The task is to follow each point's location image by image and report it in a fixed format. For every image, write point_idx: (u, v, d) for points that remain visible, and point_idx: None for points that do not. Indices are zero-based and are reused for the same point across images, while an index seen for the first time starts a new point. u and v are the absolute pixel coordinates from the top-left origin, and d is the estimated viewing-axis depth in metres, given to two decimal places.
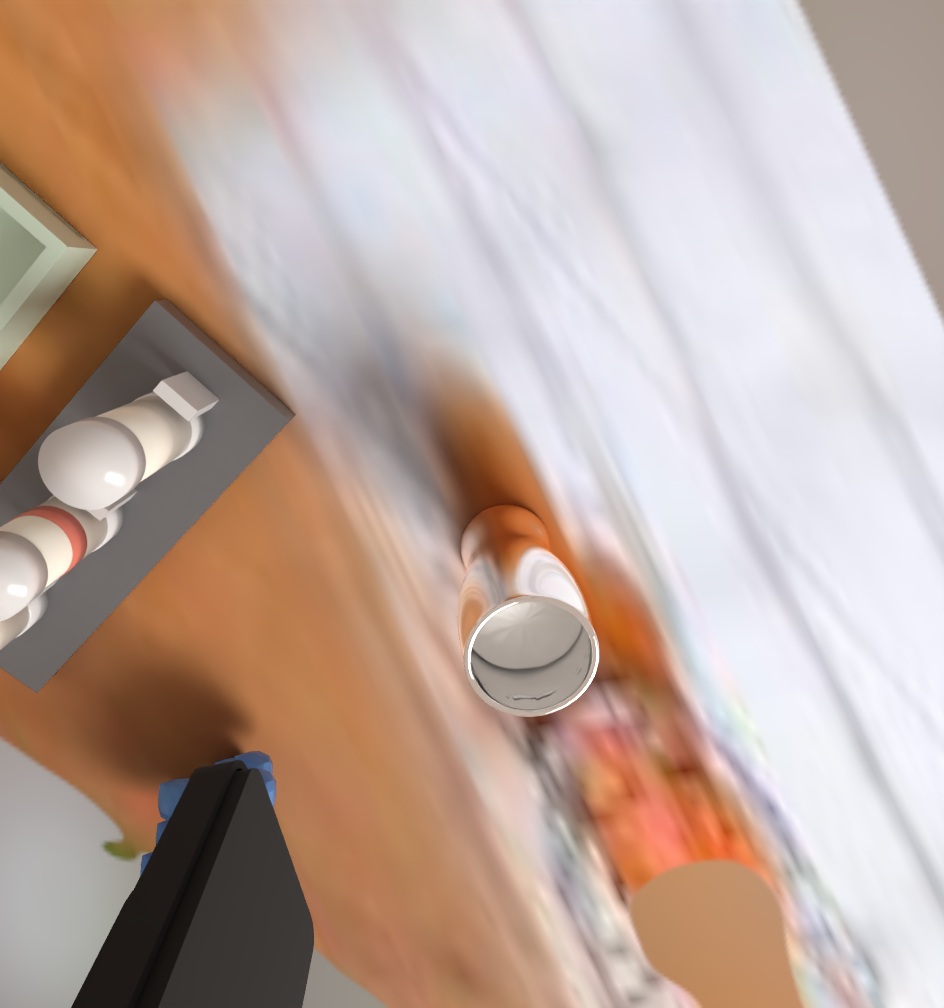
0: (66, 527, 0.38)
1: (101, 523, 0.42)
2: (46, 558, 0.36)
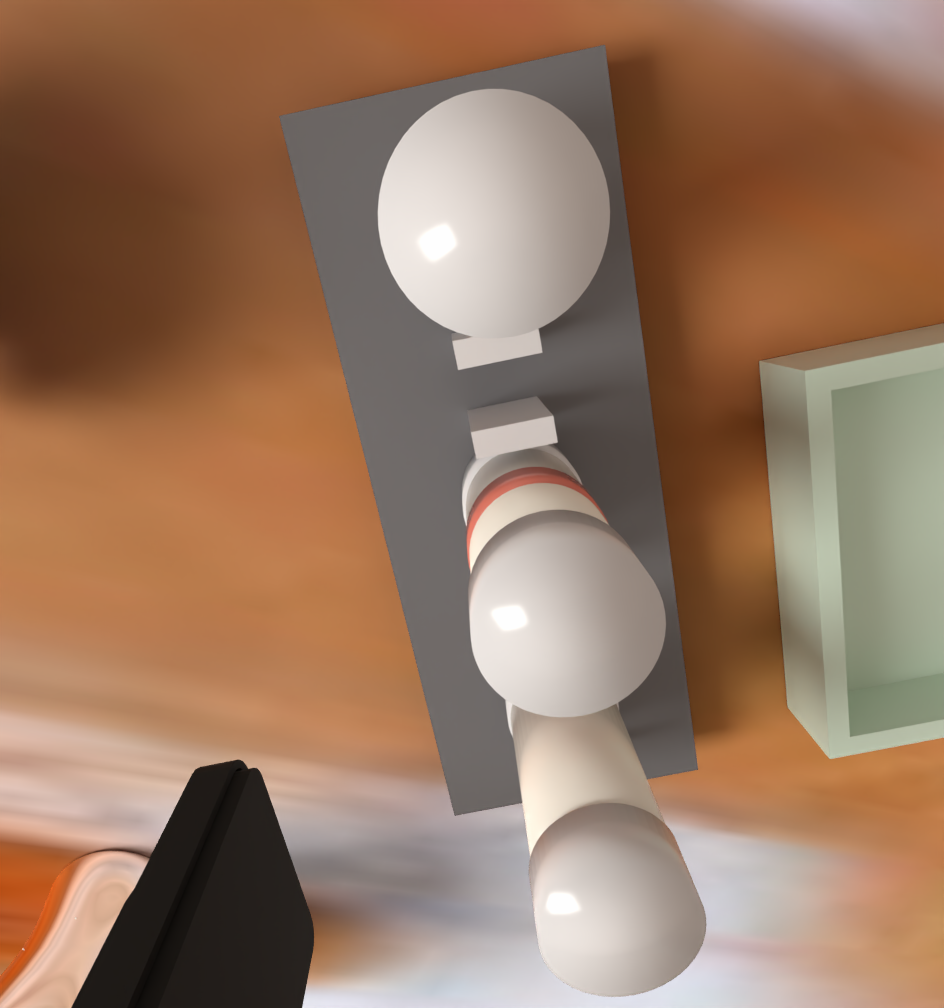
0: None
1: None
2: None
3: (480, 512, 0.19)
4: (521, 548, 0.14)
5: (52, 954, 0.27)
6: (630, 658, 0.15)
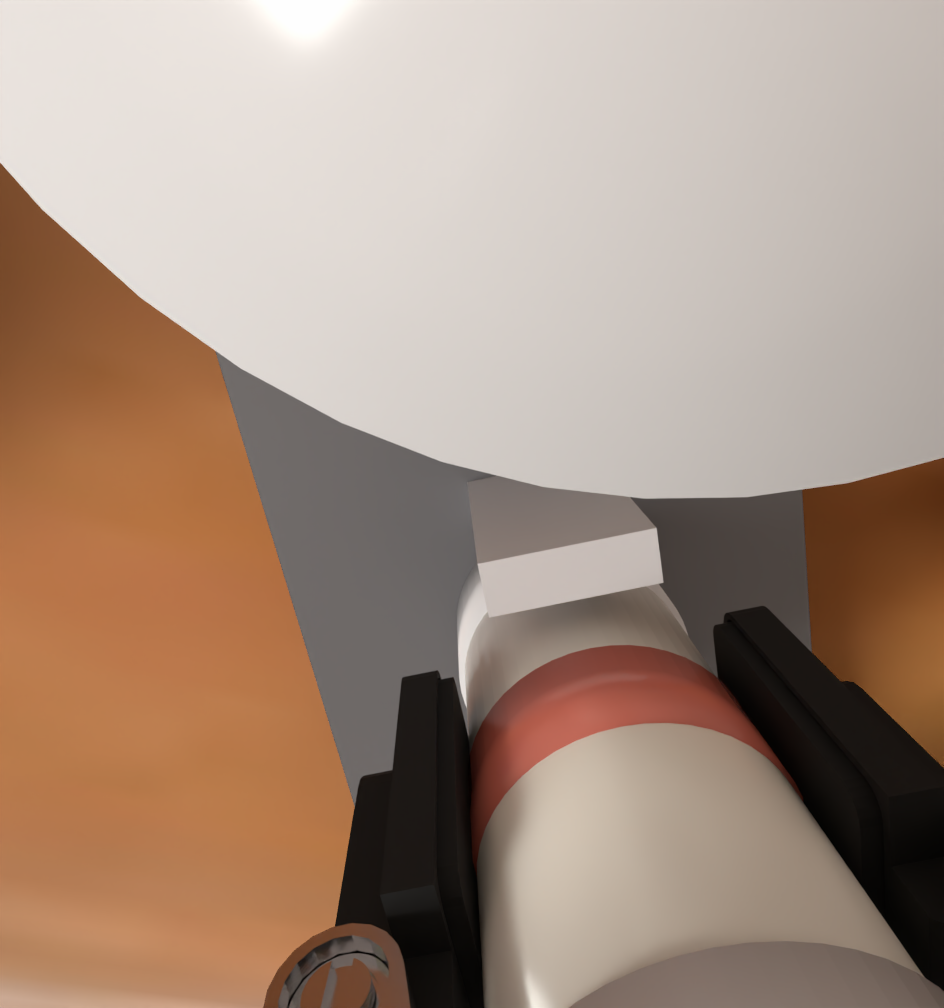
0: None
1: None
2: None
3: (503, 787, 0.08)
4: None
5: None
6: None
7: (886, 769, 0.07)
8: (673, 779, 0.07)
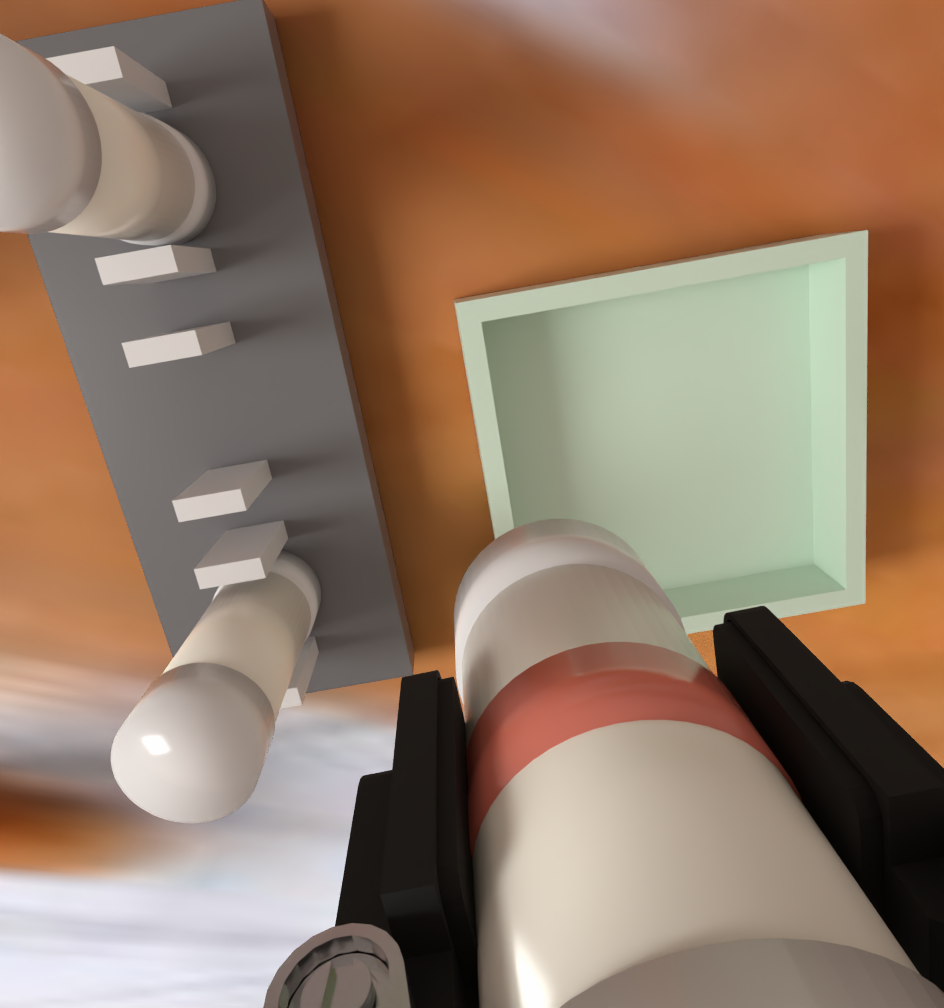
0: None
1: None
2: None
3: (499, 784, 0.08)
4: None
5: None
6: None
7: (886, 769, 0.07)
8: (669, 776, 0.07)
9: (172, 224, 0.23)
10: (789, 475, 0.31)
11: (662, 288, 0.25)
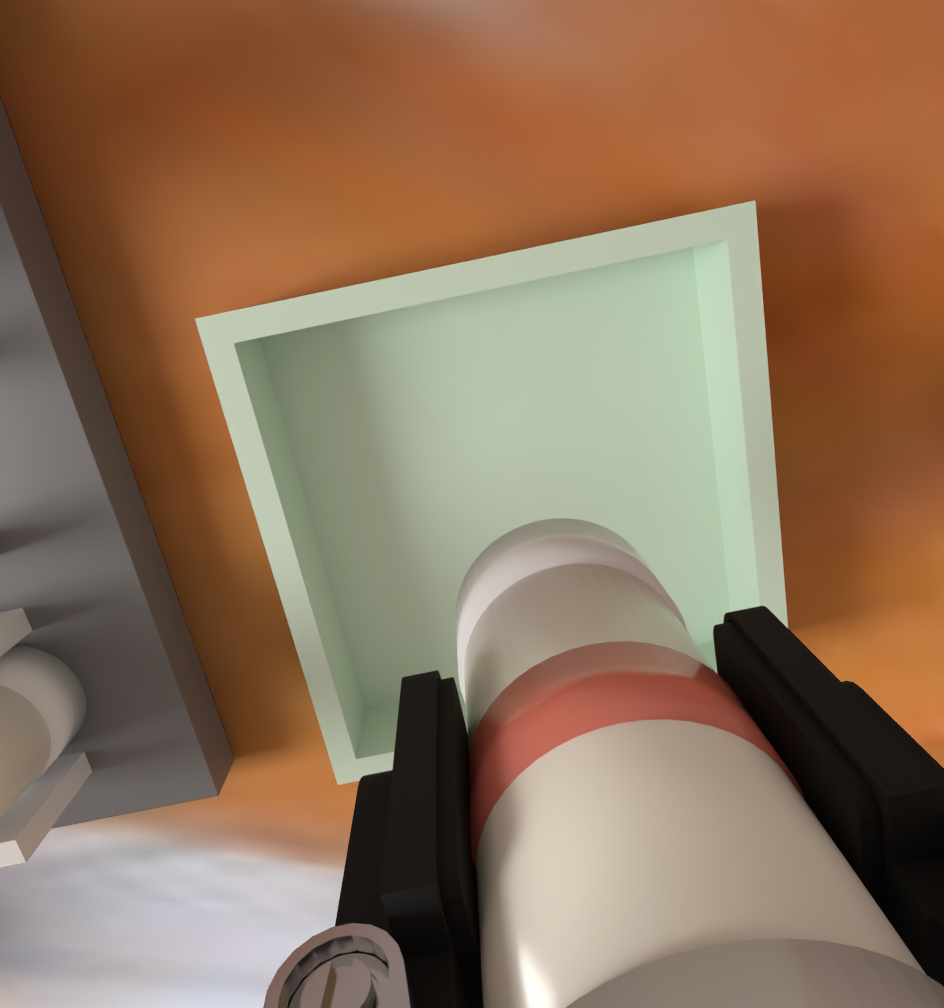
0: None
1: None
2: None
3: (502, 784, 0.08)
4: None
5: None
6: None
7: (886, 768, 0.07)
8: (673, 776, 0.07)
9: None
10: (691, 526, 0.24)
11: (477, 289, 0.19)
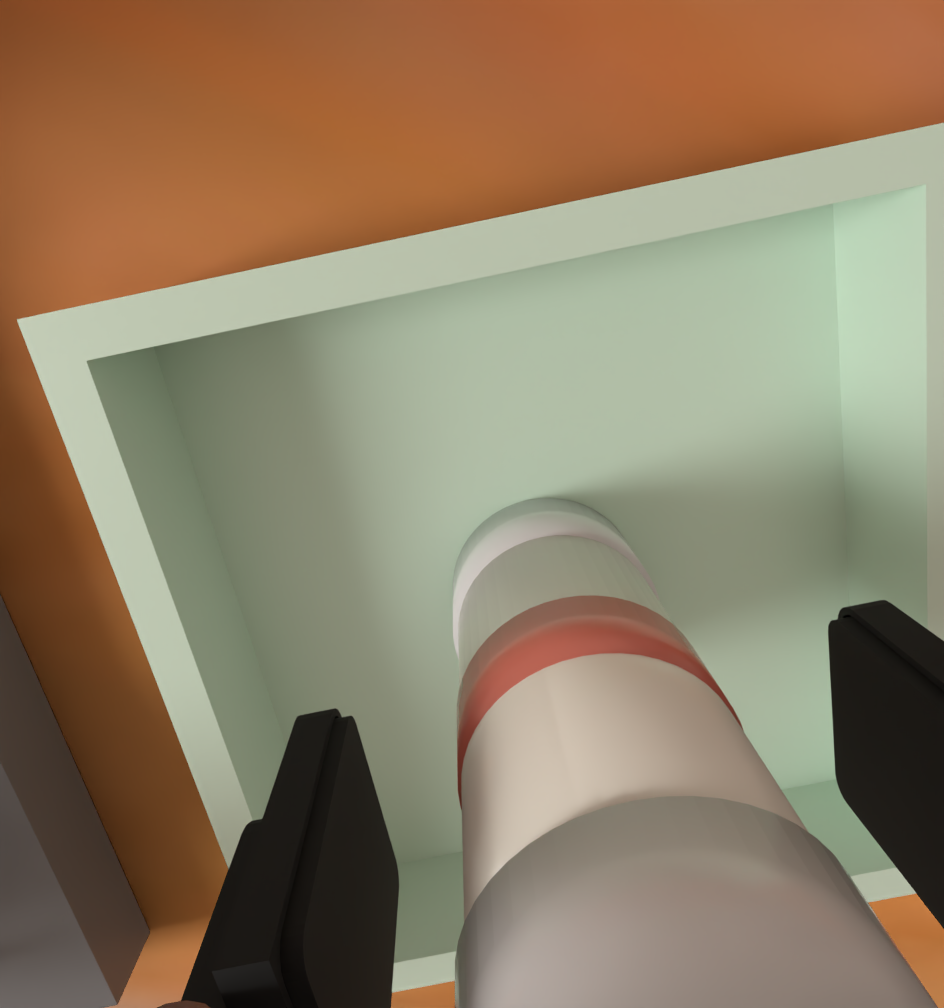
0: None
1: None
2: None
3: (483, 708, 0.09)
4: None
5: None
6: None
7: None
8: (620, 693, 0.08)
9: None
10: (806, 623, 0.16)
11: (499, 270, 0.11)
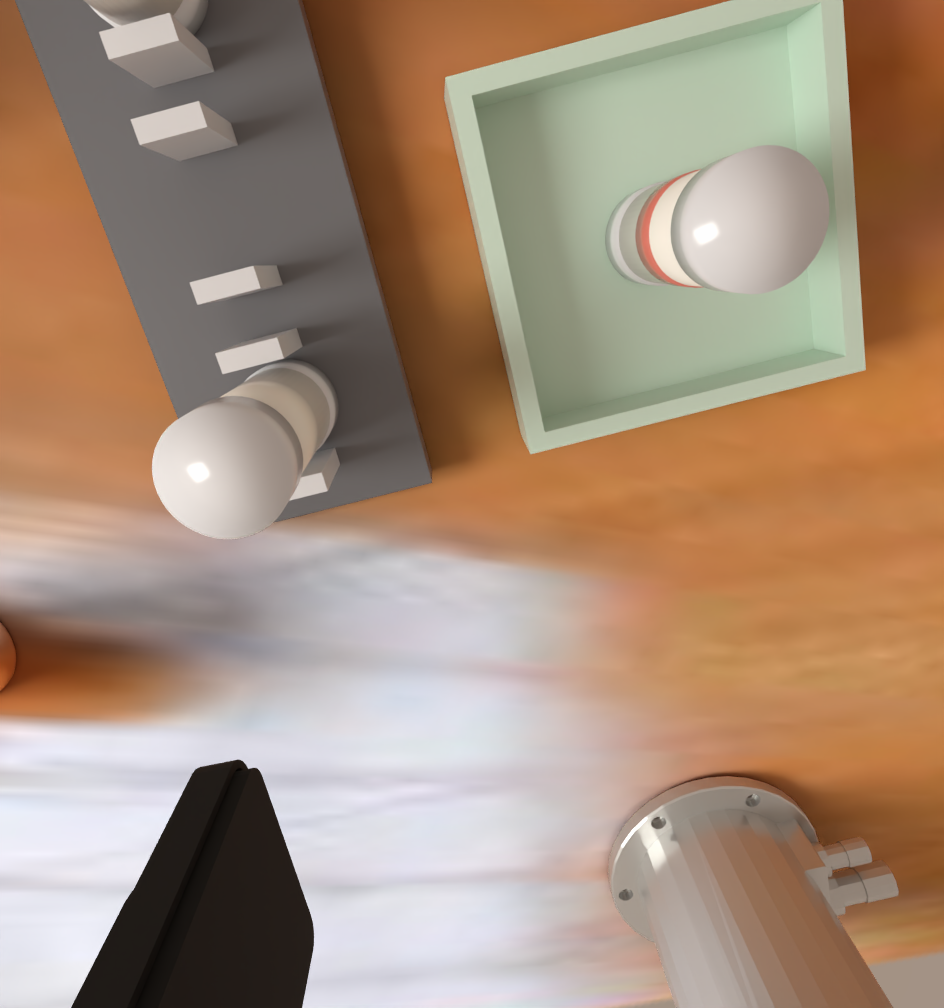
0: None
1: (646, 279, 0.29)
2: (702, 284, 0.23)
3: (658, 197, 0.25)
4: (729, 157, 0.20)
5: None
6: (803, 242, 0.21)
7: None
8: None
9: (169, 3, 0.24)
10: None
11: (644, 47, 0.26)
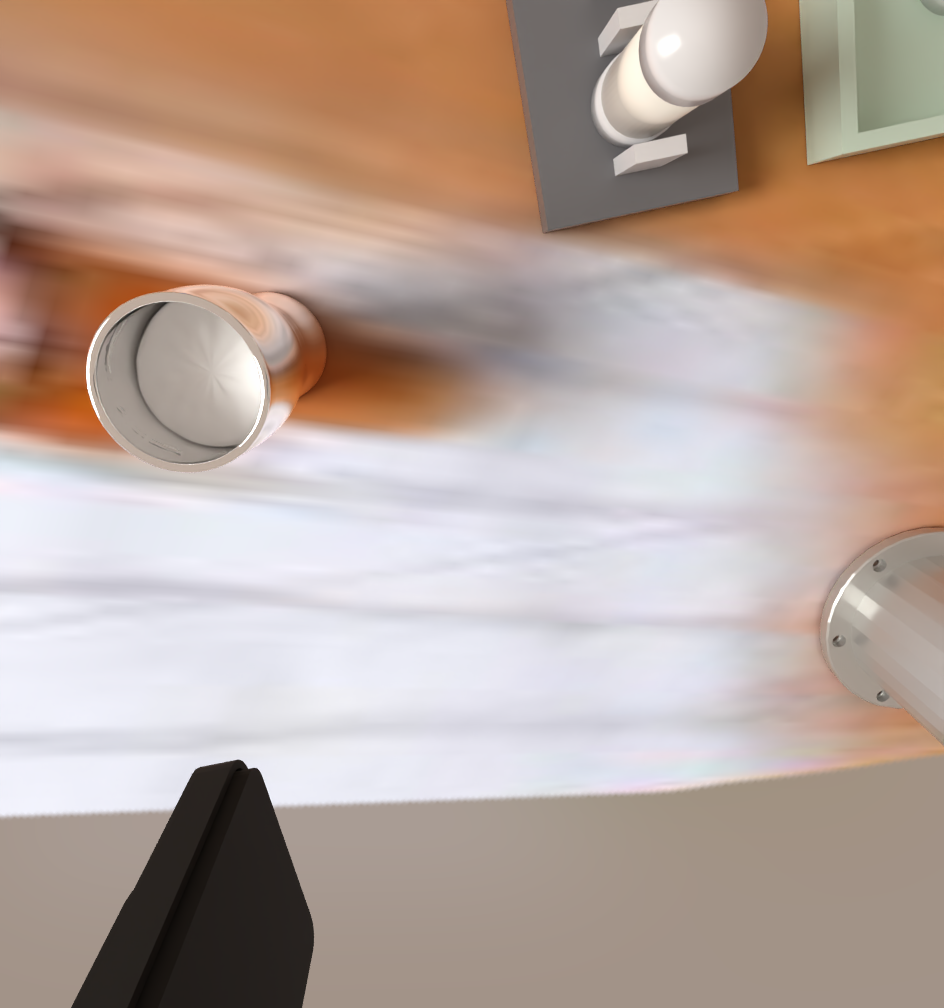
0: None
1: None
2: None
3: None
4: None
5: None
6: None
7: None
8: None
9: None
10: None
11: None
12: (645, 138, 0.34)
